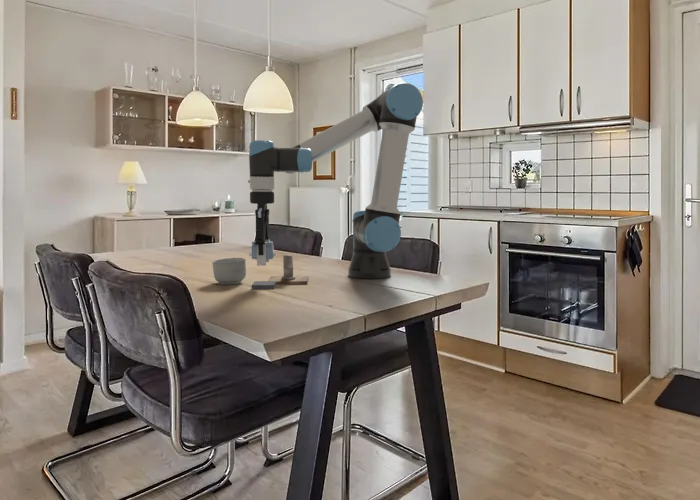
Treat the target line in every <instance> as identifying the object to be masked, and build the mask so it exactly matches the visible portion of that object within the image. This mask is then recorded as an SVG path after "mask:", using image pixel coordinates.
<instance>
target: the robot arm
mask: <svg viewBox="0 0 700 500" xmlns="http://www.w3.org/2000/svg"><path fill="white" fill-rule="evenodd" d="M423 105H424V98H423V95H422V93H421V92H420V90H419V89H418V87H417V86H415V85H414V84H412V83H410V82H400V83H396V84H393V85H392V86H390V87H389V89H387V90H385V91H383V92H382V93H381V94H380V95H378V96H377V97H376V98H374V99H373V100H372V101H370V102H369V103H367V104H365V105H364V106H363V107H362V110H361V111H359V112H357V113H355V114H352V115H351V116H349V117H346V119H344V120H342V121H339V122H338V123H337V124H334V125H332V126H331V127H328V128H327V129H325V130H323V131H321V132H319V133H318V134H317V133H316V134H315V135H314V136H312V137H310V138H308V139H306V140H304V141H302V142H300V143H298V144H297V145H295V146H293V147H275V145H274V141H271V140H265V139H264V140H263V139H261V140H260V139H258V140H257V139H256V140H252V141H250V143H249V154H248V160H249V161H248V162H249V163H248V164H249V179H248V180H247V183H248V184H249V189H250V190H251V191H250V192H249V202H250V204H254V205H255V204H257V205H256V206H257V207H256V209H254V211H255V213H254V214H255V240H256V241H255V240H254V241H255V242H254V245H257V259H256V266H260V267H261V266H265V267H266V266H267V263H269V262H270V259H267V260H266V245H265V240H270V241H272V239H271V238H270V209H269V208H268V205H271V204H274V203H275V192H274V190H275V175H274V174H275V172H276V173H280V172H281V173H286V174H294V173H300V174H302V173H309V172H311V171H312V169H313V163H314V162H316V161H318V160H320V159H322V158H324V157H325V156H327V155H329V154H331V153H333V152H335V151H337V150H338V149H341V148H342V147H344V146H346V145H348V144H350V143H351V142H353V141H355V140H357V139H359V138H361V137H363V136H365V135H367V134H369V133H371V132H375V133H377V132H379V131H380V130H382V133H381V140H380V144H379V145H380V147H379V153H378V158H377V166H376V171H375V176H374V177H375V178H374V183H373V189H372V195H371V202H370V204H369V205H367V206H365V209H364V210H358V211H357V210H356V211H355V212H354V213H353V215H352V240H353V241H352V242H353V243H352V246H353V247H352V248H353V249H352V256H351V261H350V262H349V266H348V270H347V271H348V272H347V273H348V276H349V277H350V278H355V279H356V278H357V279H368V280H369V279H371V280H372V279H374V280H375V279H383V278H384V279H385V278H388V277H391V266H390V263H389V261H388V256H387V252H389V251H391V250H393V249H395V247H396V246H397V245H398V244H399V242H400V240H401V237H402V230H401V226H400V218H401V212H400V210H399V209H398V201H399V196H400V191H401V184H402V179H403V174H404V173H403V172H404V166H405V161H406V154H407V149H408V147H407V146H408V142H409V136H410V134H411V133H412V132H413V131H415V128H416V123H417V119H418V116H419V115H420V113H421V112H422V110H423V107H424V106H423Z"/></svg>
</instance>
